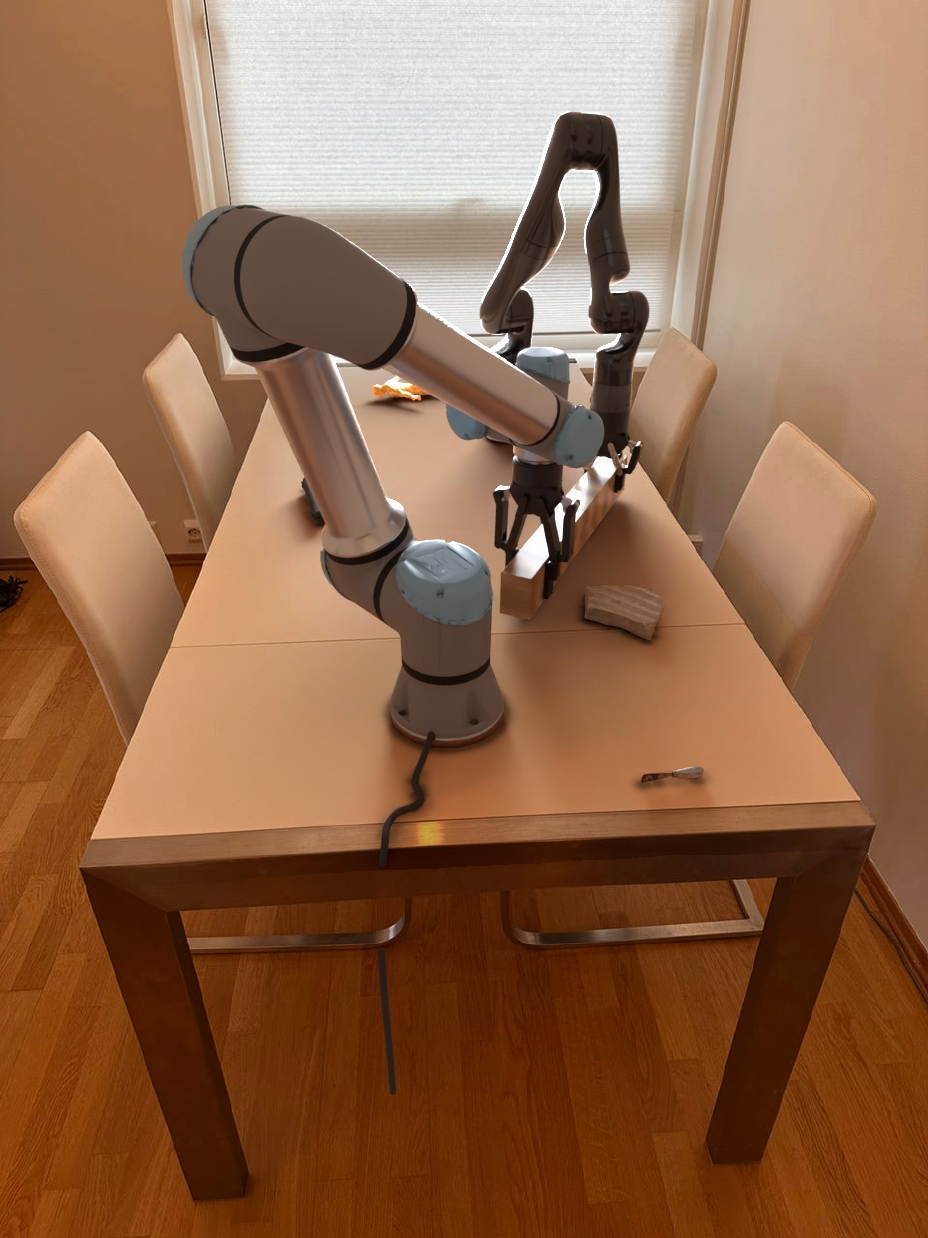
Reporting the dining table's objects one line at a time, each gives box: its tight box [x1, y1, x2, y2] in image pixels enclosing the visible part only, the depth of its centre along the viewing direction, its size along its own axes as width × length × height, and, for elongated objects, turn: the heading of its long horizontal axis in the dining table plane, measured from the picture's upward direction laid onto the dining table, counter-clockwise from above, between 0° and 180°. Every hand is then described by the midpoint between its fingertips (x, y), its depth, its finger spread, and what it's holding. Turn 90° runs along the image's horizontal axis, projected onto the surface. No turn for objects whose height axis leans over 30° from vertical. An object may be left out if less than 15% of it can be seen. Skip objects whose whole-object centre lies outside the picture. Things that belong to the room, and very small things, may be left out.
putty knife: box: [640, 765, 705, 784], centre depth 109 cm, size 1×8×2 cm, turn 103°
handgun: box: [300, 476, 326, 525], centre depth 177 cm, size 3×18×12 cm
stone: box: [583, 584, 665, 641], centre depth 141 cm, size 13×12×3 cm
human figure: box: [371, 375, 429, 401], centre depth 236 cm, size 20×20×4 cm
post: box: [499, 454, 629, 621], centre depth 158 cm, size 55×5×7 cm, turn 156°
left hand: (531, 591), depth 144 cm, fingers closed on post, 5 cm apart
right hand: (602, 488), depth 174 cm, fingers closed on post, 5 cm apart
